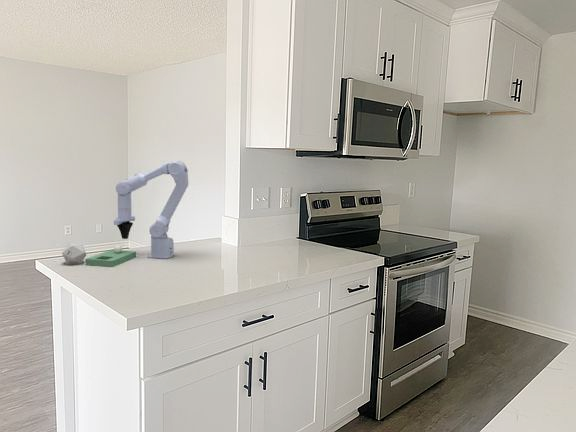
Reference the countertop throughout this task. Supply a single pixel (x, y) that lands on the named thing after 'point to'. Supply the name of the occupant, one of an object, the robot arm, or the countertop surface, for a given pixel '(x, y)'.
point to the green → (110, 258)
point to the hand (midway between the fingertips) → (125, 238)
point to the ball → (118, 248)
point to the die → (74, 253)
